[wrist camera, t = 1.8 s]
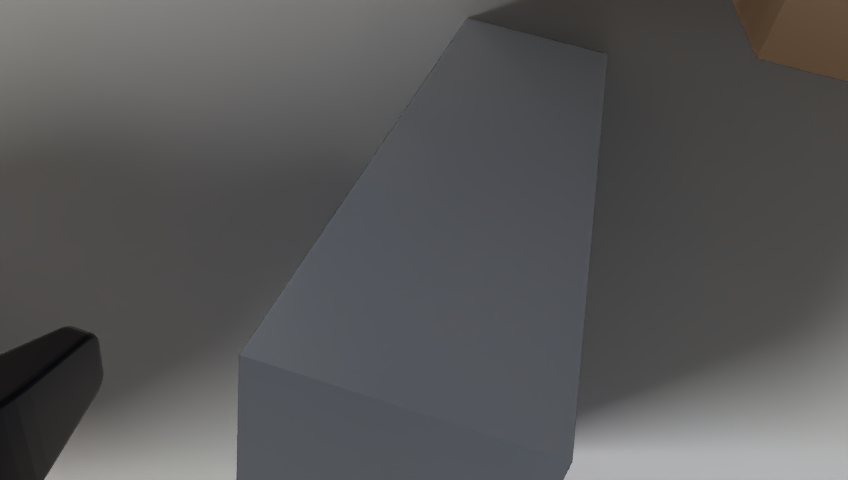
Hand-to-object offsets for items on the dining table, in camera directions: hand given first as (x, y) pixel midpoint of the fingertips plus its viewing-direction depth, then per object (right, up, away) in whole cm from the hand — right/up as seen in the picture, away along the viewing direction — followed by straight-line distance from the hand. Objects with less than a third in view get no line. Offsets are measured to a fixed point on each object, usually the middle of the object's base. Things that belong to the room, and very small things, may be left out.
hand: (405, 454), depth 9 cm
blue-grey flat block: (+1, +2, +3) cm, 4 cm away
